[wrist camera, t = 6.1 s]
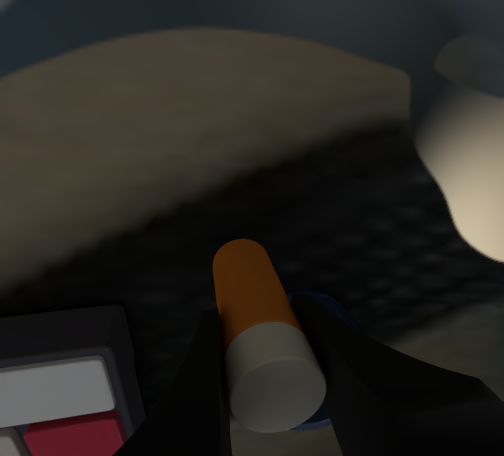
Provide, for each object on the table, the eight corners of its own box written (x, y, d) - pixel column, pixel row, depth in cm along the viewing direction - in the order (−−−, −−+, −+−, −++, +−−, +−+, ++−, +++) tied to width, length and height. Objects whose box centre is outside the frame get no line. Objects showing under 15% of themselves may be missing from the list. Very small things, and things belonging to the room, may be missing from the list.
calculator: (-29, 561, 20) (-162, 394, 14) (6, 484, 24) (-86, 326, 18) (153, 523, 22) (107, 357, 16) (158, 456, 26) (123, 302, 20)
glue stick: (279, 258, 18) (347, 383, 10) (244, 297, 18) (283, 445, 11) (236, 227, 17) (274, 342, 9) (201, 270, 17) (208, 413, 10)
